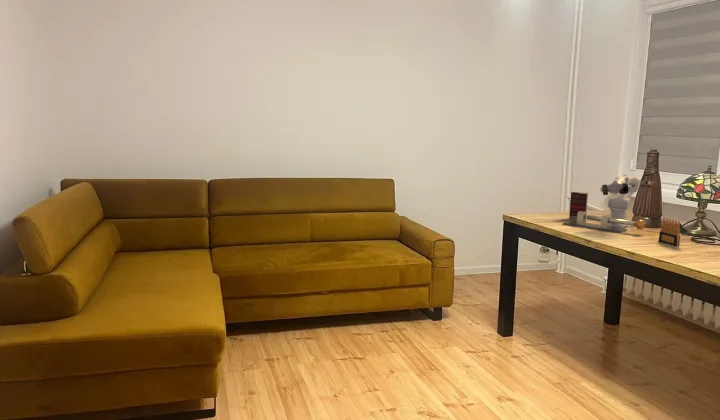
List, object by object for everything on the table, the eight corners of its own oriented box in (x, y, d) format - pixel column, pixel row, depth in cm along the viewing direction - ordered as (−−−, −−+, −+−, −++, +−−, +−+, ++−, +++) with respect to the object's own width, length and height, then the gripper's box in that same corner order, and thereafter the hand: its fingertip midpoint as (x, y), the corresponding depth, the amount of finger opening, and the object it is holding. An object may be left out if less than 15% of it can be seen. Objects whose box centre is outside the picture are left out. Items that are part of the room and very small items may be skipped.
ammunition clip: (679, 246, 254) (682, 221, 252) (676, 246, 254) (679, 221, 252) (661, 241, 264) (664, 216, 262) (658, 241, 264) (661, 217, 262)
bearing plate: (570, 222, 309) (571, 209, 308) (626, 230, 289) (628, 216, 288) (562, 224, 302) (564, 210, 301) (619, 233, 282) (621, 218, 280)
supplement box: (585, 220, 318) (588, 192, 315) (584, 221, 314) (586, 193, 311) (570, 218, 322) (572, 191, 320) (568, 219, 318) (570, 192, 316)
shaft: (588, 221, 300) (589, 212, 299) (643, 229, 280) (644, 219, 280) (585, 222, 296) (585, 213, 295) (640, 230, 277) (641, 220, 276)
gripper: (602, 179, 294) (596, 185, 284) (632, 177, 285) (626, 183, 275) (604, 192, 296) (597, 199, 285) (633, 190, 287) (628, 197, 276)
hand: (612, 192), depth 280 cm, fingers open, 7 cm apart
